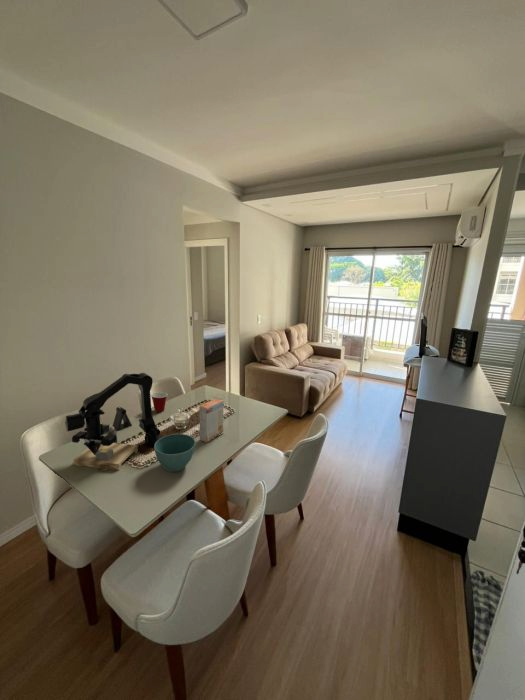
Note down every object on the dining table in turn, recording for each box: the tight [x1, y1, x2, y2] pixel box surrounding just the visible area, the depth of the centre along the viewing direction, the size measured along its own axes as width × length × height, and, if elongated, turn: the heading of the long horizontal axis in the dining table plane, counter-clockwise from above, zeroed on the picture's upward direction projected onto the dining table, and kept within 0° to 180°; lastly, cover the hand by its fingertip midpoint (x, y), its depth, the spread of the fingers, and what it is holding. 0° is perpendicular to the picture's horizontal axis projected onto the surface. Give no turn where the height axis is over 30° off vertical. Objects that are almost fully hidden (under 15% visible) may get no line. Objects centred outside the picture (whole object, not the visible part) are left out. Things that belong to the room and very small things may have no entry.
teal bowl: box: [153, 433, 196, 473], centre depth 133 cm, size 18×18×12 cm
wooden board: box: [73, 442, 138, 472], centre depth 138 cm, size 22×19×3 cm
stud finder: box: [96, 449, 113, 460], centre depth 133 cm, size 6×4×3 cm, turn 84°
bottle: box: [107, 426, 118, 443], centre depth 150 cm, size 4×4×10 cm
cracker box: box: [198, 398, 224, 444], centre depth 161 cm, size 14×6×21 cm, turn 146°
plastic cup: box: [150, 391, 168, 413], centre depth 192 cm, size 11×11×12 cm
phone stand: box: [111, 406, 133, 432], centre depth 168 cm, size 9×6×12 cm, turn 142°
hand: (95, 454), depth 134 cm, fingers closed
